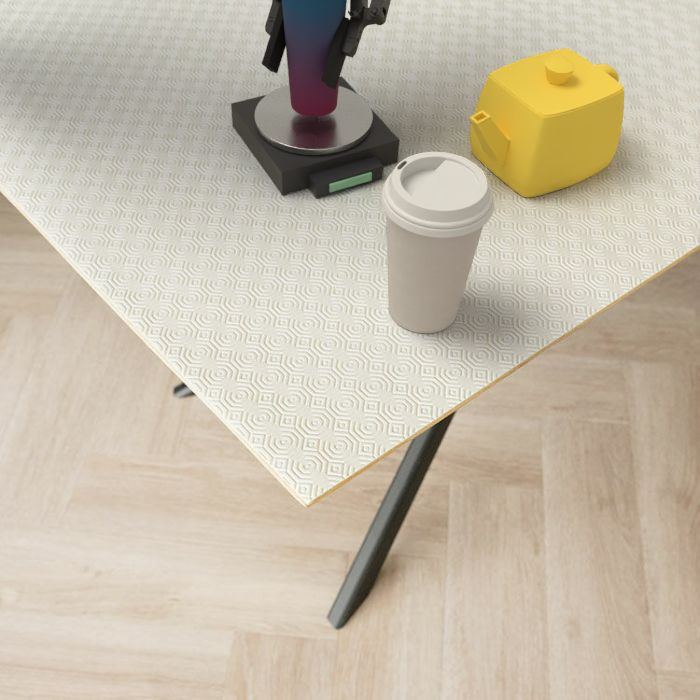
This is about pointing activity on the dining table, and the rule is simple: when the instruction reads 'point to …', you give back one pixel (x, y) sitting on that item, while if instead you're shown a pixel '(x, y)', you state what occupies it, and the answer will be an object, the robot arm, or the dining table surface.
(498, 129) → the teapot
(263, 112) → the scale pan
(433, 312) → the coffee cup
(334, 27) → the cup
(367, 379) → the dining table surface
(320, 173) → the scale
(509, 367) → the dining table surface
